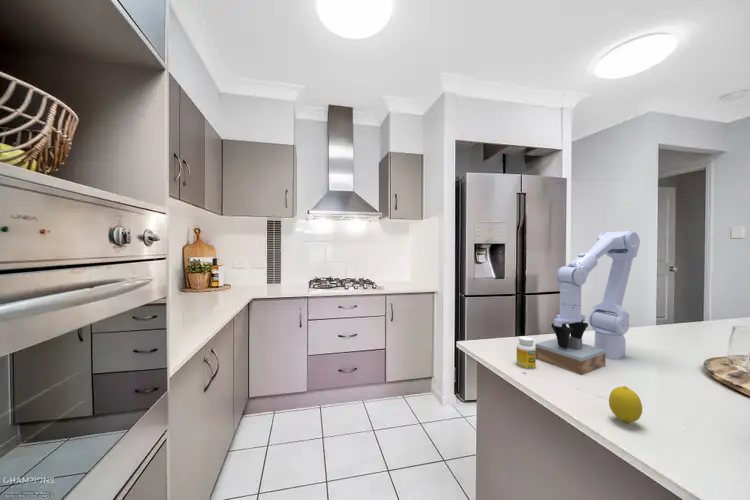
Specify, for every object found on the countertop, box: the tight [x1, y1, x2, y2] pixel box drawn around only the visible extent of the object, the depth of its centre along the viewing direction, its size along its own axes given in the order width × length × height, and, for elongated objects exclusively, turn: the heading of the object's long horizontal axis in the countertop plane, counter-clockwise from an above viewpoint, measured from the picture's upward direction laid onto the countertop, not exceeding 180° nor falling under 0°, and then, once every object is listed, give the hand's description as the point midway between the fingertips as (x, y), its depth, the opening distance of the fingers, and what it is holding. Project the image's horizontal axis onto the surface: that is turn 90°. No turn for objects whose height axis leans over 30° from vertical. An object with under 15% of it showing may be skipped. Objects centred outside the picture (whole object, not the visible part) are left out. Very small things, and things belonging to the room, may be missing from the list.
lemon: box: [608, 385, 643, 424], centre depth 64 cm, size 6×6×8 cm
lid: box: [534, 335, 606, 361], centre depth 95 cm, size 14×14×6 cm
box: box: [535, 347, 606, 376], centre depth 95 cm, size 14×14×5 cm
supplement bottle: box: [516, 335, 537, 370], centre depth 92 cm, size 5×5×10 cm
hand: (569, 345), depth 95 cm, fingers open, 7 cm apart
